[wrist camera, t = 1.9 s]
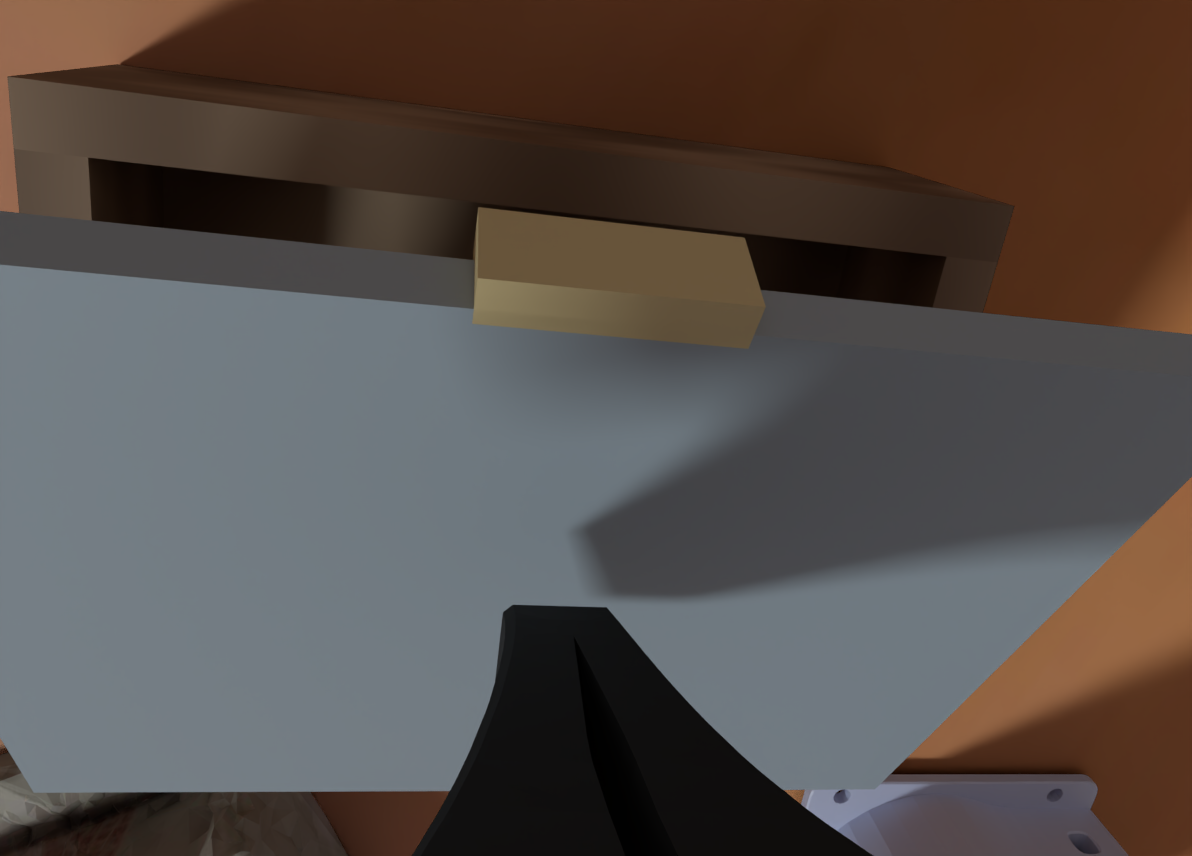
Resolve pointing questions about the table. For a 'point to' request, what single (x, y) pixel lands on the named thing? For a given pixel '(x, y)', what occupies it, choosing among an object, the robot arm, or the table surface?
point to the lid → (525, 495)
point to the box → (476, 182)
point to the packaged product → (159, 822)
